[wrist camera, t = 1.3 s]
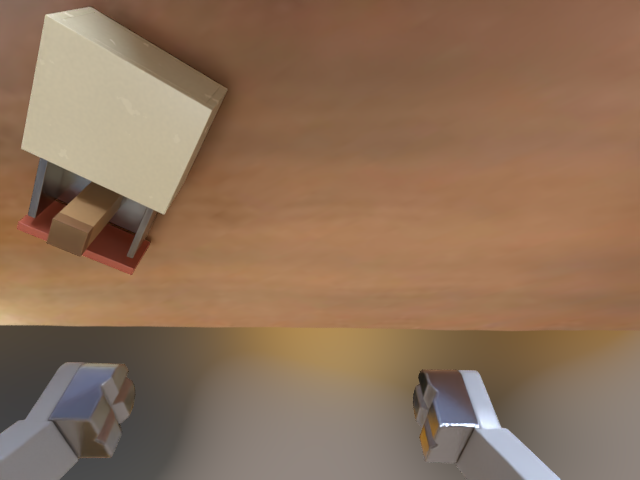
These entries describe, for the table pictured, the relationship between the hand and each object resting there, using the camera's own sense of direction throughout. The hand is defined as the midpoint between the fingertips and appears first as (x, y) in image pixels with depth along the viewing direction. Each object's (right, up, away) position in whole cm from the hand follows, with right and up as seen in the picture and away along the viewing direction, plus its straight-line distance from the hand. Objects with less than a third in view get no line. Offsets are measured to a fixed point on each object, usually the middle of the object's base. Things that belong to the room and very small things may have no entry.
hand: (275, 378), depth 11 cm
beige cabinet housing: (-19, +19, +32) cm, 42 cm away
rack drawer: (-25, +10, +38) cm, 47 cm away
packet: (-25, +10, +36) cm, 45 cm away
